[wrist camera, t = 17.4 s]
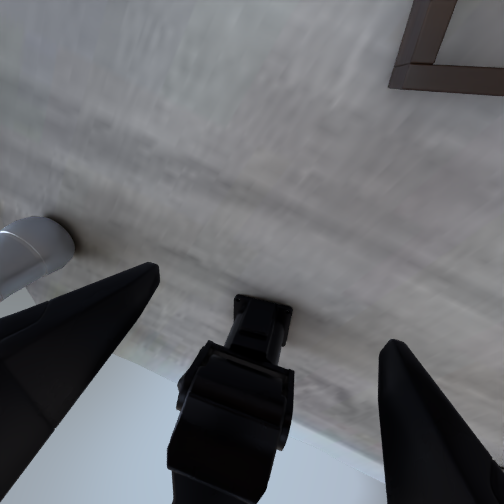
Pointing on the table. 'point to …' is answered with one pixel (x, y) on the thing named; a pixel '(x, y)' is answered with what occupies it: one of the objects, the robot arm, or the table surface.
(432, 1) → the tray
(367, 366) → the table surface
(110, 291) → the robot arm
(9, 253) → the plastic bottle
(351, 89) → the table surface
